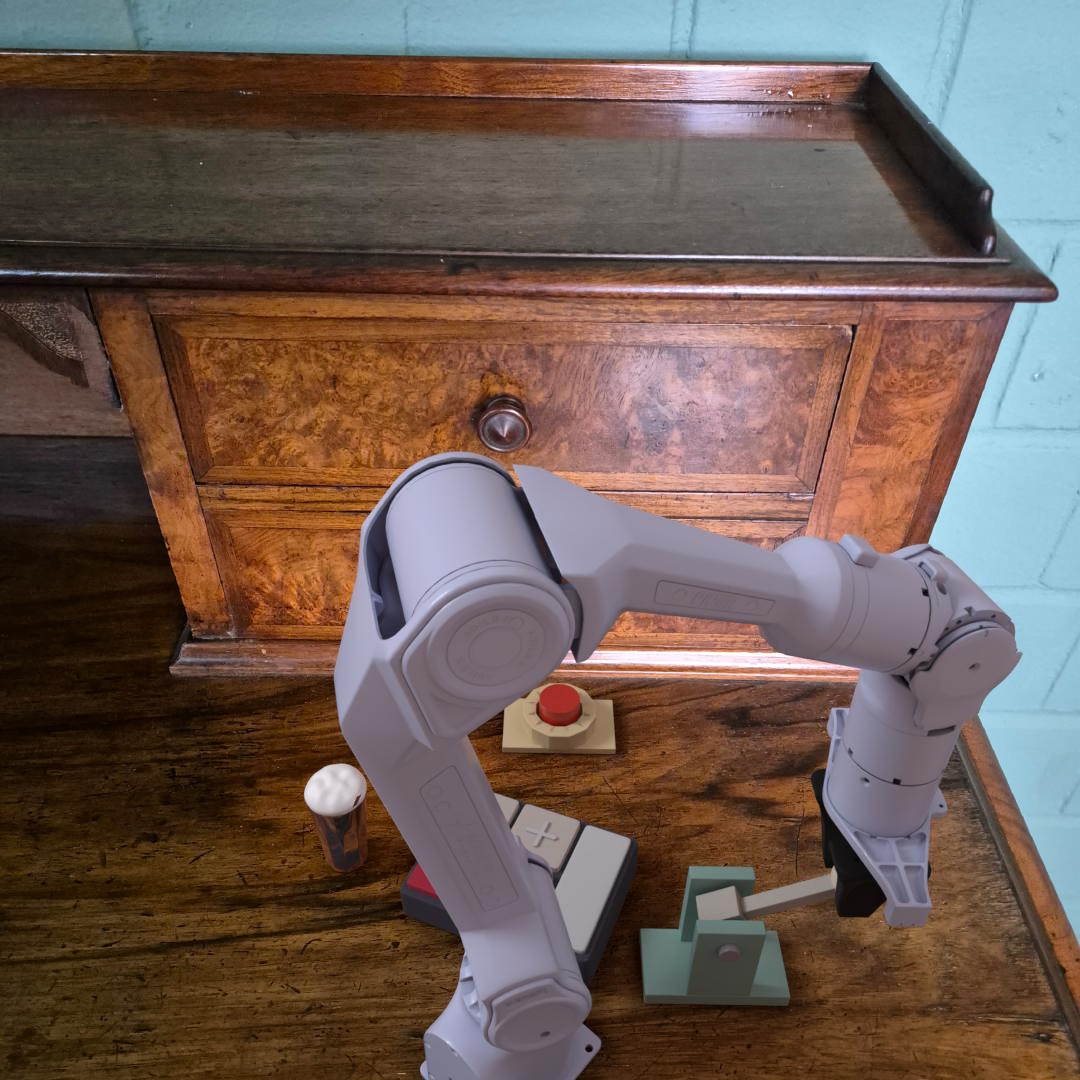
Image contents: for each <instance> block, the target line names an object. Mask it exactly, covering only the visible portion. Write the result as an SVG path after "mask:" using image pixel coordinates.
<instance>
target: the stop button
mask: <svg viewBox="0 0 1080 1080" xmlns="http://www.w3.org/2000/svg"><path fill="white" fill-rule="evenodd" d="M579 708H580V696H579V694H578V692H577V691H576V690H575V689H574V688H572V687H571V686H568V685H565V684H554V685H550V686H548V687H546V688H545V689H544V690H543V691H542V692H541V694H540V698H539V714H540V716H541V718H542V720H543V721H544V722H546V723H547V724H549V725H552V726H561V727H563V726H568V725H570V724H572V723H574V722H575V721H576V720H577V718H578V716H579Z"/></svg>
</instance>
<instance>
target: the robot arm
mask: <svg viewBox="0 0 1080 1080" xmlns="http://www.w3.org/2000/svg"><path fill="white" fill-rule="evenodd" d="M512 468H513V471H514V472H515V475H516V477H517V479H518V481H519V483H520V486H518V484H517V482H516V480H515V478H514V477H513V476H512V474H511V473H510V472H509V471H508V470H507V469H506V468H505V467H504V466H503V465H501V464H500V463H499V462H497V461H495V460H494V459H492V458H491V457H488V456H486V455H483V454H479V453H475V452H470V451H448V452H441V453H437V454H434V455H430V456H428V457H425V458H424V459H422V460H419V461H417V462H415V463H414V464H413V465H411V466H409V467H408V468H407V469H405V470H404V471H403V472H402V473H401V474H400V475H399V476H398V477H397V478H396V479H395V480H394V481H393V482H392V483H391V485H390V487H389V488H388V489H387V490H386V492H385V493H384V494H383V496H382V497H381V498H380V499H379V501H378V502H377V504H376V505H375V506H374V508H373V509H372V510H371V512H370V513H369V514H368V516H367V517H366V518H365V519H364V521H363V523H362V524H361V527H360V539H359V549H358V559H357V560H358V561H357V562H358V563H357V570H356V571H357V572H356V578H355V582H354V586H353V591H352V595H351V599H350V604H349V607H348V611H347V615H346V619H345V624H344V628H343V632H342V635H341V640H340V646H339V648H338V653H337V658H336V661H335V665H334V671H333V682H334V691H335V692H334V693H335V701H336V709H337V715H338V723H339V726H340V730H341V734H342V736H343V738H344V741H346V743H347V745H348V747H349V748H350V750H351V752H352V753H353V755H354V756H355V758H356V760H357V762H358V763H359V766H360V767H361V768H362V770H363V772H364V773H365V776H366V777H367V779H368V780H369V782H370V784H371V785H372V787H373V789H374V790H375V792H376V794H377V795H378V797H379V799H380V801H381V803H382V804H383V805H384V807H385V809H386V811H387V812H388V814H389V816H390V818H391V819H392V821H393V822H394V824H395V826H396V828H397V829H398V831H399V833H400V834H401V836H402V838H403V839H404V841H405V843H406V844H407V846H408V847H409V850H410V851H411V853H412V855H413V856H414V858H415V860H416V861H418V863H419V865H420V866H421V868H422V870H423V871H424V873H425V875H426V876H427V878H428V880H429V881H430V883H431V885H432V886H433V888H434V890H435V892H436V893H437V895H438V897H439V898H440V900H441V902H442V903H443V905H444V907H445V908H446V910H447V912H448V913H449V915H450V917H451V919H452V920H453V922H454V924H455V925H456V927H457V929H458V930H459V933H460V936H461V937H460V936H459V937H460V938H461V942H462V946H463V948H464V954H463V956H462V962H461V966H460V969H459V980H458V982H457V983H458V984H457V986H456V988H455V991H454V994H453V996H452V997H451V1000H450V1001H449V1003H448V1004H447V1005H446V1007H445V1009H444V1010H443V1012H441V1014H440V1015H439V1016H438V1018H436V1020H434V1022H433V1023H432V1024H431V1025H430V1026H429V1027H428V1028H427V1030H426V1031H425V1032H424V1035H423V1046H424V1055H425V1060H424V1061H423V1062H422V1063H421V1065H420V1067H419V1072H420V1075H421V1077H422V1078H423V1079H424V1080H577V1078H578V1077H579V1076H580V1075H581V1074H582V1072H583V1071H584V1070H585V1068H587V1066H588V1065H589V1064H590V1063H591V1061H592V1060H593V1059H594V1058H595V1056H596V1055H597V1054H598V1053H599V1052H600V1051H601V1048H602V1040H601V1039H600V1037H599V1036H598V1035H596V1034H595V1033H594V1032H593V1031H592V1030H590V1028H588V1027H587V1026H586V1025H585V1024H584V1021H586V1019H587V1018H588V1016H589V1014H590V1012H591V1010H592V1007H593V1001H592V1000H593V998H592V995H591V992H590V990H589V988H587V987H586V985H585V984H584V982H583V979H582V976H581V973H580V970H579V966H578V963H577V960H576V957H575V953H574V950H573V947H572V944H571V941H570V937H569V934H568V931H567V928H566V924H565V921H564V918H563V915H562V911H561V908H560V905H559V902H558V899H557V895H556V892H555V889H554V886H553V873H552V870H551V868H550V865H549V864H548V862H547V861H546V860H545V859H544V858H542V857H541V856H539V855H536V854H534V853H532V852H530V851H529V850H527V849H526V848H525V847H524V845H523V843H522V841H521V839H520V837H519V836H518V835H513V834H512V831H511V829H510V827H509V825H508V823H507V821H506V818H505V816H504V814H503V812H502V810H501V808H500V805H499V803H498V801H497V799H496V797H495V795H494V792H495V791H494V790H493V788H492V786H491V783H490V782H489V780H488V777H487V776H486V772H485V771H484V769H483V766H482V765H481V764H482V763H481V762H480V760H479V758H478V756H477V754H476V751H475V749H474V747H473V744H472V743H471V740H470V738H469V734H471V733H472V732H474V731H475V730H477V729H478V728H480V727H481V726H482V725H484V724H485V723H487V722H488V721H489V720H492V718H494V717H496V716H497V715H498V714H499V713H501V712H503V711H504V710H505V708H506V707H508V706H509V705H511V704H512V703H514V702H515V701H517V700H518V699H519V698H523V696H526V695H527V694H528V693H530V692H532V691H533V690H534V689H536V688H537V687H538V686H539V685H540V684H542V682H544V681H545V680H546V679H547V678H549V677H550V676H551V675H552V674H553V673H554V672H555V671H556V670H558V668H559V667H560V665H562V663H563V661H564V660H565V659H566V657H567V656H568V654H569V651H571V654H572V656H573V658H574V661H575V663H576V664H581V663H583V662H586V661H587V660H589V659H590V658H591V656H592V655H593V654H594V653H595V651H596V650H597V649H598V647H599V645H600V644H601V643H602V641H603V640H604V638H605V637H606V636H607V635H608V633H609V632H610V631H611V630H612V628H613V626H614V625H615V624H616V623H617V621H619V620H618V619H620V617H621V616H622V615H623V614H625V613H627V612H633V613H640V614H641V613H643V614H650V615H661V616H670V617H677V618H678V617H679V618H688V619H696V620H697V619H698V620H707V621H714V622H715V621H716V622H725V623H726V622H727V623H733V624H743V625H744V624H745V625H751V626H752V625H753V626H758V630H759V631H760V633H761V635H762V637H763V639H764V641H765V642H766V643H767V645H769V647H771V648H772V649H773V650H774V651H775V652H778V653H780V654H781V655H784V656H788V657H794V658H799V659H805V660H809V661H810V660H811V661H816V662H821V663H827V664H833V665H839V666H844V667H848V668H854V669H860V671H859V674H858V678H857V680H856V681H857V682H856V685H855V689H854V692H853V696H852V699H851V703H850V706H849V707H831V709H830V713H829V717H828V720H827V724H826V730H827V731H826V732H827V734H828V737H829V738H830V739H831V740H830V746H829V751H828V756H827V761H826V768H818V769H816V770H814V771H813V772H812V773H811V776H810V783H811V786H812V790H813V793H814V798H815V801H816V803H817V805H818V807H819V812H820V819H821V820H820V822H821V824H820V825H821V854H822V860H823V863H824V864H823V865H824V867H825V869H832V868H833V866H834V867H835V870H836V873H837V884H836V891H835V897H834V904H835V909H836V912H837V913H836V914H837V916H838V917H839V918H858V919H859V918H862V919H865V918H867V919H869V918H870V917H871V916H872V915H873V914H874V913H875V912H876V911H877V910H878V909H880V907H881V906H882V905H883V904H884V903H885V906H884V909H883V915H884V919H885V921H886V924H887V926H888V927H899V928H900V927H902V928H913V927H914V928H915V927H916V928H918V927H919V928H922V927H925V925H926V923H927V920H928V918H929V916H930V914H931V911H932V909H933V903H932V899H931V895H930V892H929V887H928V885H929V884H928V882H929V880H930V878H931V876H932V866H931V864H930V861H929V853H930V835H931V834H930V833H931V820H935V819H936V820H938V819H943V818H944V817H945V816H946V814H947V812H948V811H949V810H948V804H947V801H946V799H945V797H944V794H943V792H942V789H940V787H939V786H940V784H941V782H942V778H943V776H944V773H945V771H946V769H947V766H948V764H949V761H950V759H951V756H952V753H953V751H954V748H955V746H956V743H957V741H958V738H959V736H960V733H961V731H962V728H963V726H964V724H967V723H969V722H970V721H972V720H973V718H974V716H976V715H978V714H979V713H980V711H981V709H982V706H983V703H984V701H985V700H986V698H987V696H988V695H989V694H990V693H991V692H992V691H993V690H994V689H995V688H997V687H998V686H999V685H1000V684H1001V683H1003V682H1004V681H1005V680H1006V678H1008V677H1009V676H1010V674H1011V673H1012V672H1013V671H1014V670H1015V668H1016V667H1017V665H1018V664H1019V662H1020V660H1021V659H1022V657H1023V655H1024V653H1023V652H1022V651H1018V650H1019V649H1018V647H1017V641H1016V626H1015V623H1014V622H1013V621H1012V618H1011V617H1010V616H1009V615H1008V614H1007V613H1006V612H1005V611H1004V610H1003V609H1002V608H1001V607H1000V606H999V605H998V604H997V603H996V602H995V601H994V600H993V599H992V598H991V597H990V596H989V595H988V594H987V593H986V592H985V591H984V590H983V589H982V588H981V586H979V585H978V584H977V583H976V582H975V581H974V580H973V579H972V578H971V577H970V576H969V574H967V573H966V572H965V571H964V570H963V569H962V568H961V567H959V565H958V564H957V563H956V562H955V561H953V559H951V558H950V557H948V556H946V555H945V553H943V552H942V551H941V550H939V549H936V548H935V547H933V546H932V545H931V544H930V543H918V544H912V545H909V546H905V547H902V548H900V549H898V550H896V551H893V552H889V553H883V552H877V551H876V550H875V548H874V547H872V545H871V544H870V543H869V542H868V541H867V540H866V539H865V538H864V537H861V536H857V535H853V534H849V533H845V534H844V535H843V536H841V539H840V540H839V541H838V542H837V541H833V540H830V539H829V540H828V539H824V538H821V537H817V536H811V535H800V536H795V537H792V538H790V539H788V540H787V541H784V542H783V543H781V544H780V545H778V546H777V547H776V548H775V549H774V550H769V549H765V548H762V547H759V546H757V545H754V544H751V543H748V542H747V543H746V542H744V541H741V540H737V539H734V538H731V537H728V536H725V535H721V534H719V533H715V532H712V531H708V530H707V529H702V528H699V527H697V526H693V525H690V524H686V523H683V522H680V521H678V520H674V519H671V518H668V517H666V516H662V515H658V514H655V513H652V512H648V511H646V510H644V509H643V510H642V509H640V508H636V507H632V506H629V505H627V504H624V503H620V502H617V501H614V500H612V499H608V498H606V497H604V496H601V495H599V494H597V493H595V492H592V491H590V490H588V489H586V488H584V487H582V486H579V485H578V484H575V483H573V482H572V481H570V480H568V479H565V478H563V477H562V476H559V475H558V474H555V473H553V472H551V471H549V470H547V469H545V468H542V467H539V466H535V465H525V464H516V463H513V464H512ZM587 1048H590V1049H591V1050H592V1051H589V1052H588V1051H587V1050H586V1049H587Z"/></svg>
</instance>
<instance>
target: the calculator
mask: <svg viewBox="0 0 1080 1080" xmlns="http://www.w3.org/2000/svg"><path fill="white" fill-rule="evenodd" d="M493 792H494V795H495V797H496V799H497V801H498V803H499V805H500V808H501V810H502V812H503V814H504V816H505V818H506V821H507V823H508V825H509V827H510V829H511V831H512V834H513V835H518V836H519V837H520V839H521V841H522V843H523V845H524V847H525V848H526V849H527V850H529V851H530V852H532V853H534V854H536V855H539V856H541V857H542V858H544V859H545V860H546V861H547V862H548V864H549V865H550V868H551V870H552V873H553V886H554V889H555V892H556V895H557V899H558V902H559V905H560V908H561V911H562V915H563V918H564V921H565V924H566V928H567V931H568V934H569V937H570V941H571V944H572V947H573V950H574V953H575V957H576V960H577V963H578V966H579V970H580V973H581V976H582V979H583V982H584V984H585V985H586V987H587V988H588V989H589V988H590V987H591V985H592V982H593V980H594V978H595V975H596V973H597V970H598V968H599V966H600V963H601V960H602V959H603V955H604V953H605V952H606V951H605V950H606V948H607V946H608V943H609V942H610V939H611V936H612V934H613V931H614V929H615V926H616V923H617V921H618V919H619V916H620V914H621V912H622V908H623V906H624V904H625V901H626V899H627V897H628V894H629V891H630V889H631V887H632V884H633V882H634V879H635V876H636V874H637V872H638V858H639V857H638V855H639V853H638V851H639V850H638V849H639V844H638V843H639V841H638V840H637V838H636V837H632V836H630V835H627V834H625V833H621V832H617V831H614V830H611V829H608V828H605V827H602V826H599V825H596V824H593V823H590V822H587V821H583V820H580V819H577V818H574V817H571V816H568V815H565V814H562V813H559V812H556V811H553V810H549V809H547V808H544V807H541V806H537V805H535V804H531V803H528V802H525V801H522V800H518V799H516V798H513V797H510V796H507V795H504V794H500V793H497V792H495V791H493ZM399 896H400V900H401V904H402V909H403V913H404V915H405V916H407V917H409V918H411V919H413V920H416V921H419V922H422V923H425V924H427V925H429V926H432V927H434V928H437V929H439V930H443V931H445V932H447V933H450V934H452V935H455V936H458V937H460V938H461V936H460V933H459V930H458V929H457V927H456V925H455V924H454V922H453V920H452V919H451V917H450V915H449V913H448V912H447V910H446V908H445V907H444V905H443V903H442V902H441V900H440V898H439V897H438V895H437V893H436V892H435V890H434V888H433V886H432V885H431V883H430V881H429V880H428V878H427V876H426V875H425V873H424V871H423V870H422V868H421V866H420V865H419V863H418V861H417V860H416V861H415V863H414V864H413V865H412V867H411V868H410V870H409V872H408V874H407V875H406V877H405V879H404V880H403V881H402V883H401V885H400V887H399Z"/></svg>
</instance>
